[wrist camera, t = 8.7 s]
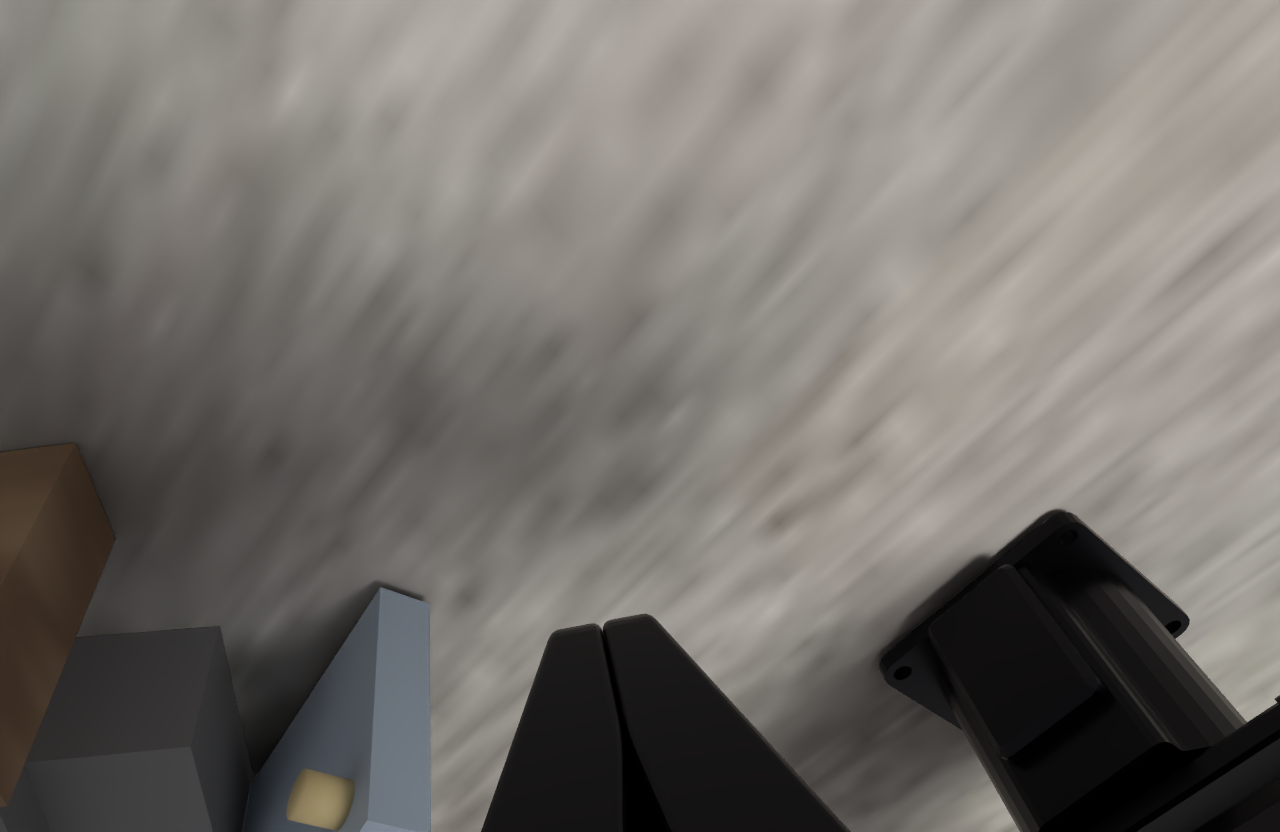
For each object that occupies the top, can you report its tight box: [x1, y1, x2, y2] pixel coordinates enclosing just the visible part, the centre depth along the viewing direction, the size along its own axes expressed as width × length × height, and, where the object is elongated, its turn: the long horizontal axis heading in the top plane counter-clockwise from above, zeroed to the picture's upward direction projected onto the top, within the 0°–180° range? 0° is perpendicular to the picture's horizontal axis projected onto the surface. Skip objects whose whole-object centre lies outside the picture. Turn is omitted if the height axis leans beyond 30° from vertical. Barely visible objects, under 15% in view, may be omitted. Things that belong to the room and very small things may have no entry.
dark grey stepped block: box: [0, 626, 252, 832], centre depth 22 cm, size 5×6×5 cm
